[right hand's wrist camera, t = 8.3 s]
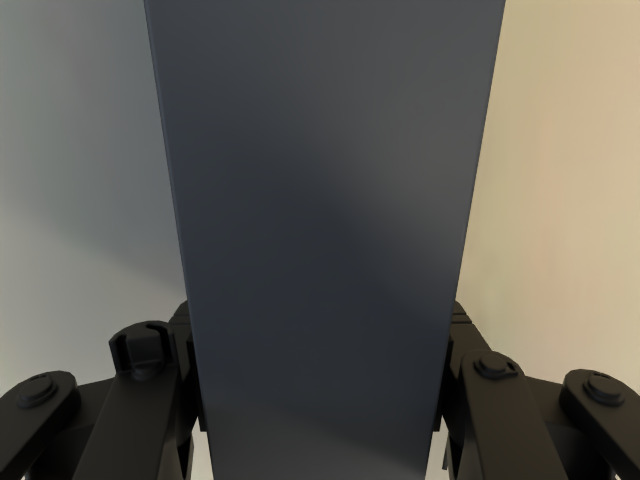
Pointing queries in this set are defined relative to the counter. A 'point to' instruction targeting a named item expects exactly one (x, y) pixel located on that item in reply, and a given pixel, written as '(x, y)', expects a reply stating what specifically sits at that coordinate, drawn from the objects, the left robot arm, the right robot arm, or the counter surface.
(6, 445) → the right robot arm
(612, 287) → the counter surface
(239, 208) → the beam
